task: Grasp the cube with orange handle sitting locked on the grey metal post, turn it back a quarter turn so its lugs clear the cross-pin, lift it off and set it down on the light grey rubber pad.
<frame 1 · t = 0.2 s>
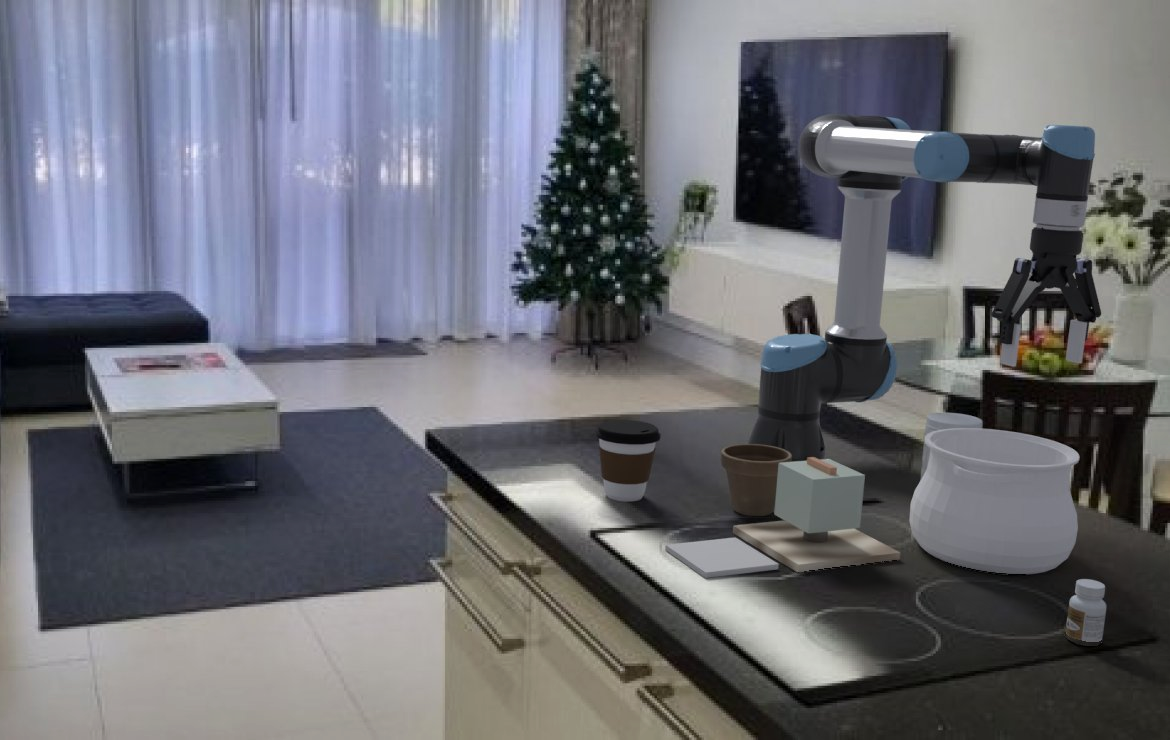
hand: (1041, 363, 201), 28 cm above the kitchen island, fingers open, 13 cm apart
flower pot: (751, 512, 211), on the kitchen island
coffee cup: (624, 497, 215), on the kitchen island
pad: (720, 559, 187), on the kitchen island
pill bottle: (1082, 642, 164), on the kitchen island
cube with orange handle: (816, 521, 194), point 4 cm above the kitchen island, touching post
pot: (987, 553, 196), on the kitchen island
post: (814, 546, 195), on the kitchen island
supplement tub: (946, 501, 222), on the kitchen island
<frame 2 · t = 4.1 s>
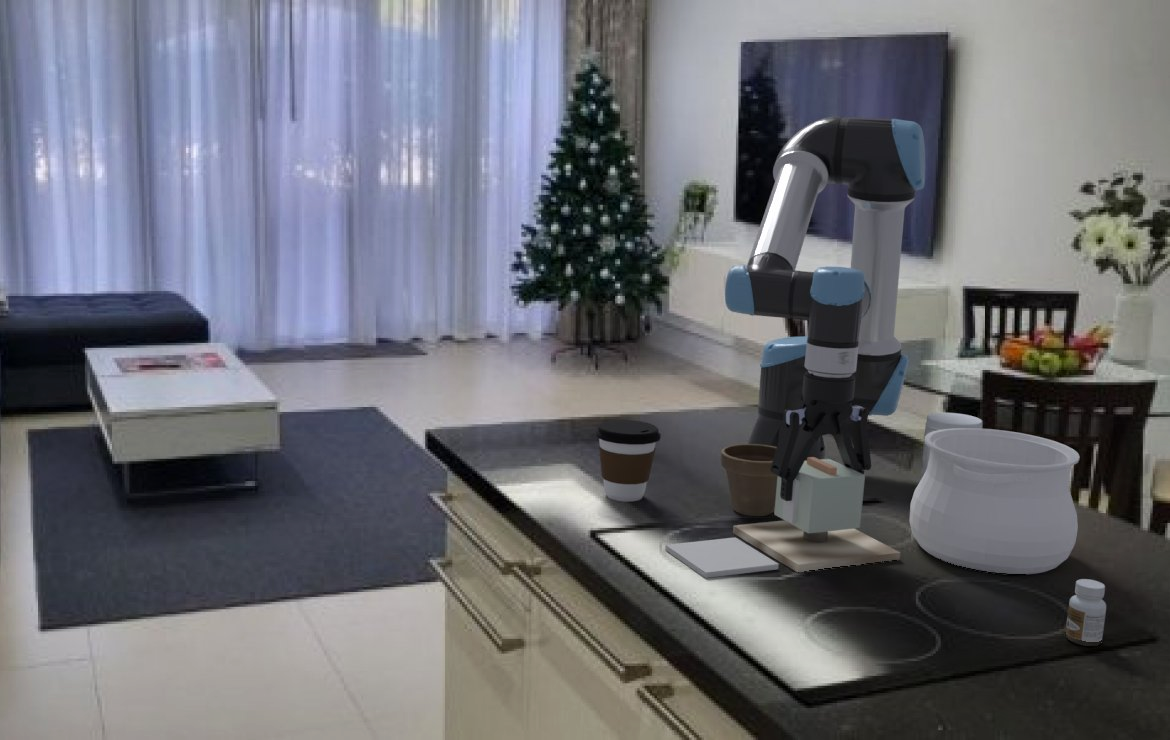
hand: (816, 517, 194), 5 cm above the kitchen island, fingers closed on cube with orange handle, 9 cm apart
cube with orange handle: (816, 521, 194), point 4 cm above the kitchen island, touching gripper, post
everything else where it was.
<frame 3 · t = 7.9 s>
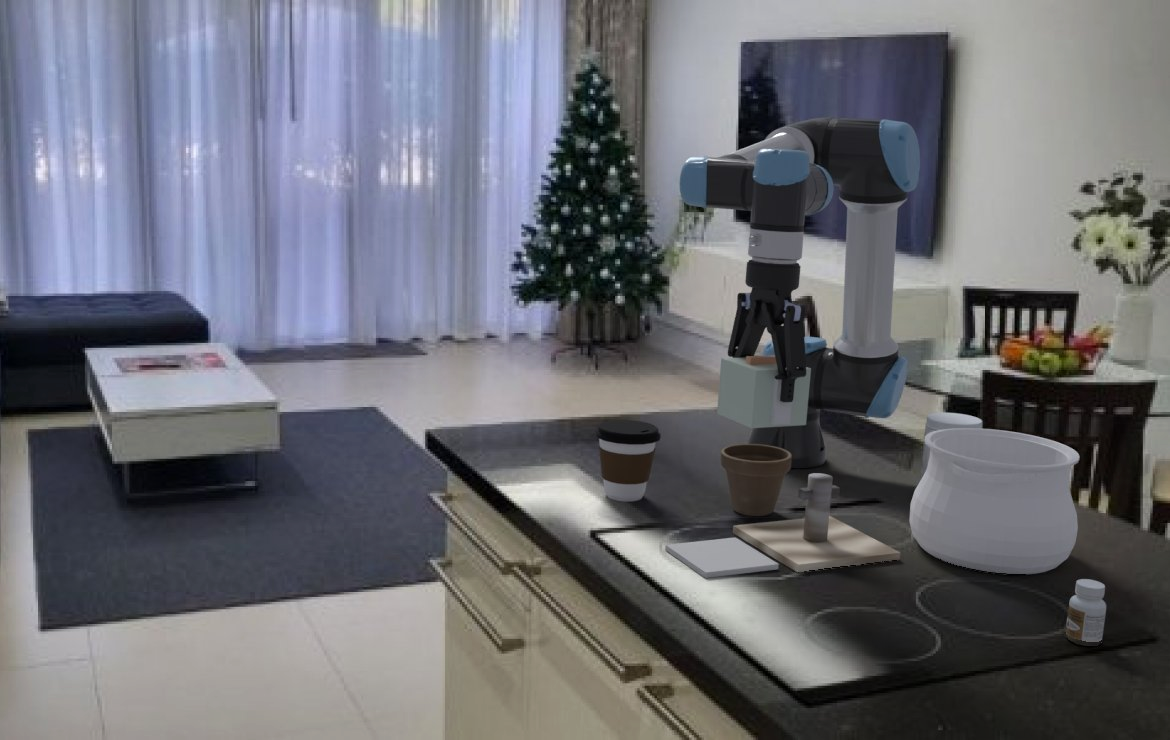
hand: (760, 415, 184), 21 cm above the kitchen island, fingers closed on cube with orange handle, 9 cm apart
cube with orange handle: (760, 419, 184), point 21 cm above the kitchen island, touching gripper
everything else where it was.
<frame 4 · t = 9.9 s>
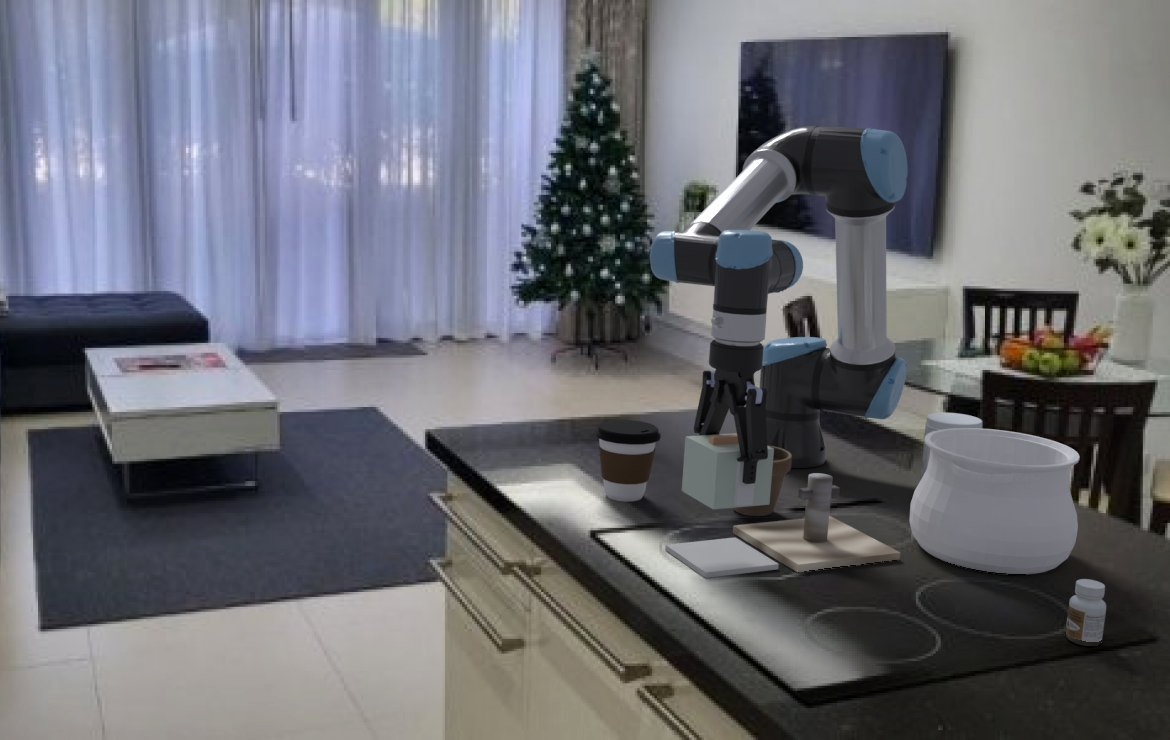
hand: (725, 494, 185), 10 cm above the kitchen island, fingers closed on cube with orange handle, 9 cm apart
cube with orange handle: (724, 497, 185), point 9 cm above the kitchen island, touching gripper
everything else where it was.
when the fingers open (3 cm above the kitchen island, at t = 11.5 s): cube with orange handle drops 1 cm, resting on pad.
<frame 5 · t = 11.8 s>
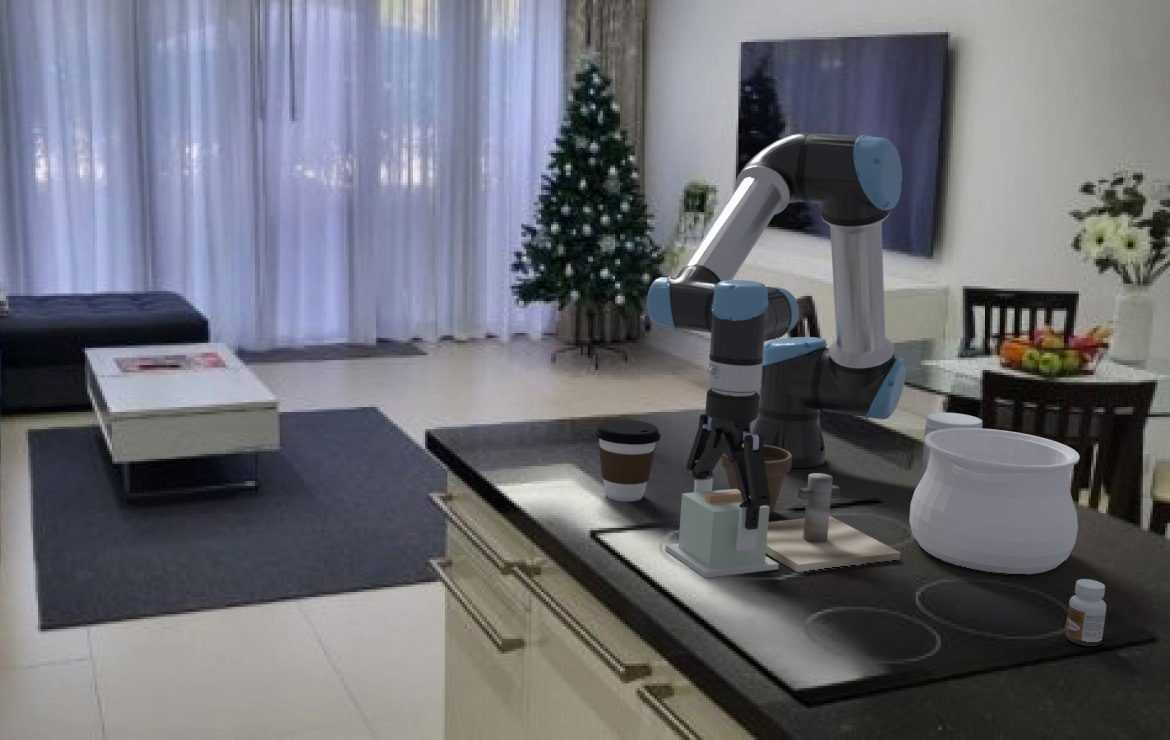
hand: (722, 535, 186), 4 cm above the kitchen island, fingers open, 12 cm apart
cube with orange handle: (721, 554, 186), point 1 cm above the kitchen island, touching pad
everything else where it was.
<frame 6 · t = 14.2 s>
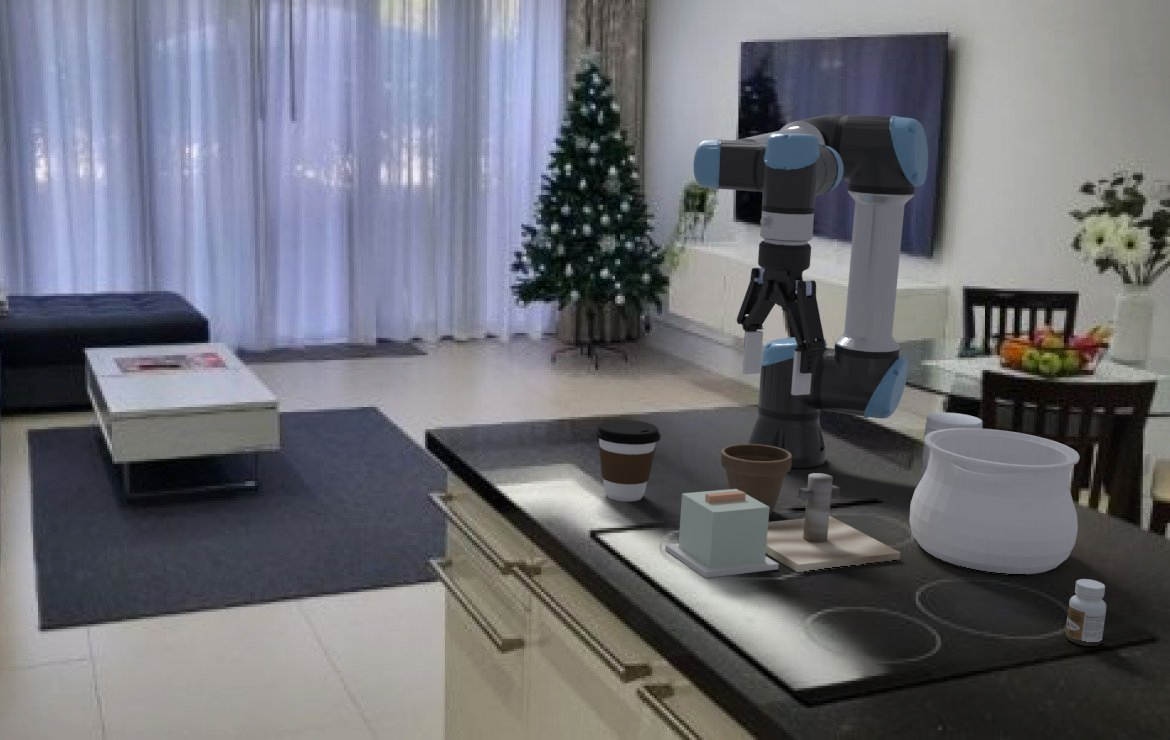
hand: (775, 383, 191), 25 cm above the kitchen island, fingers open, 13 cm apart
nothing on the kitchen island moved.
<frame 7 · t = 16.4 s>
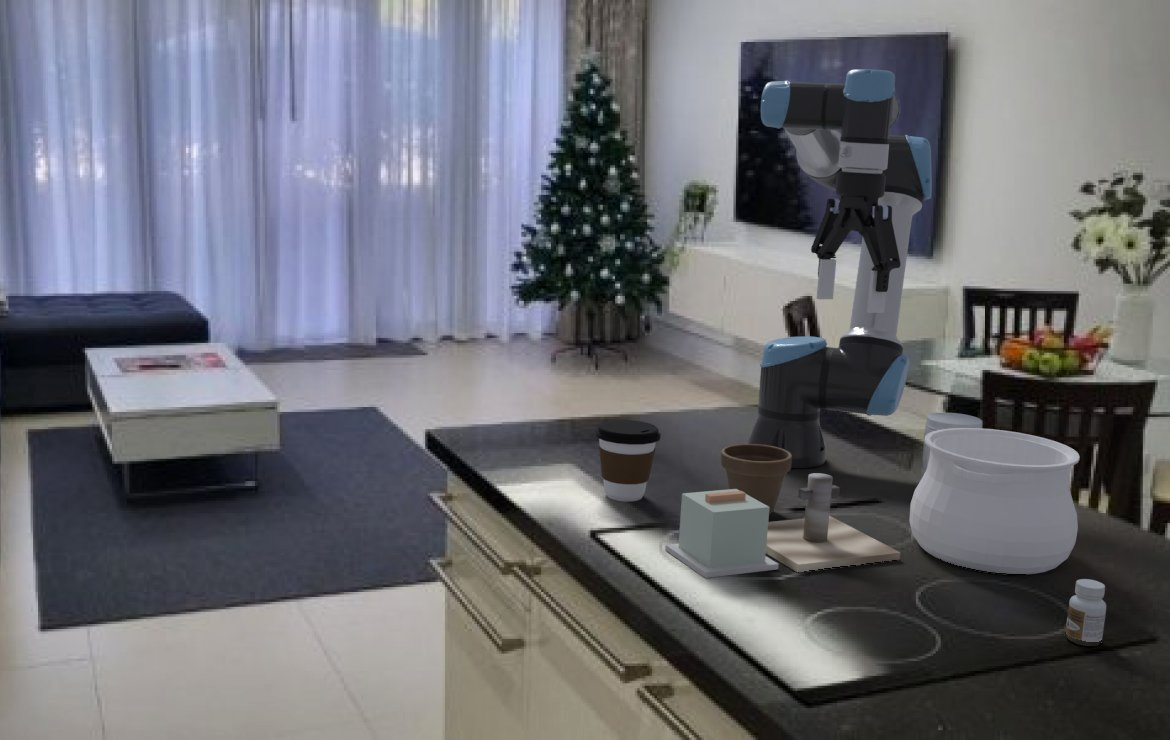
hand: (849, 305, 204), 35 cm above the kitchen island, fingers open, 13 cm apart
nothing on the kitchen island moved.
at the end: cube with orange handle inside the target area on the pad (0.0 cm from its centre), point 0.8 cm above the pad's base; cube with orange handle tilted 0°; the gripper is holding nothing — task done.
